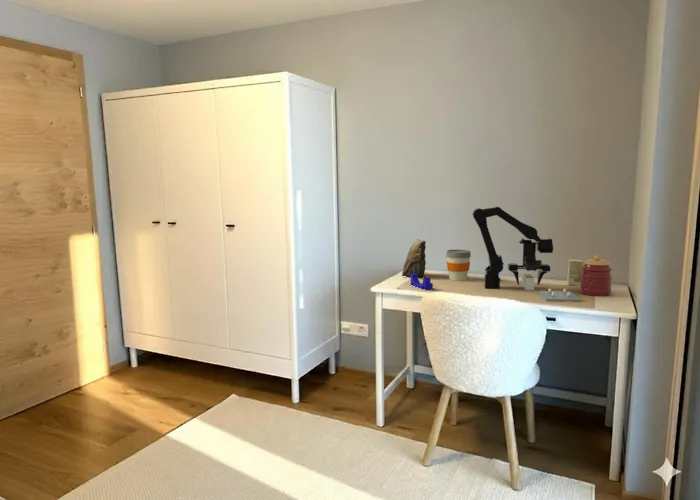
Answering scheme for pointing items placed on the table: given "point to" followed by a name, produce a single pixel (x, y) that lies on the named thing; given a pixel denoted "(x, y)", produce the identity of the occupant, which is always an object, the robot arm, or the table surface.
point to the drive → (528, 281)
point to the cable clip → (425, 283)
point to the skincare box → (574, 272)
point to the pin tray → (559, 295)
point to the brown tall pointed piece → (415, 260)
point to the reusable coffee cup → (458, 264)
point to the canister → (596, 277)
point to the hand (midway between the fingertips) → (528, 285)
